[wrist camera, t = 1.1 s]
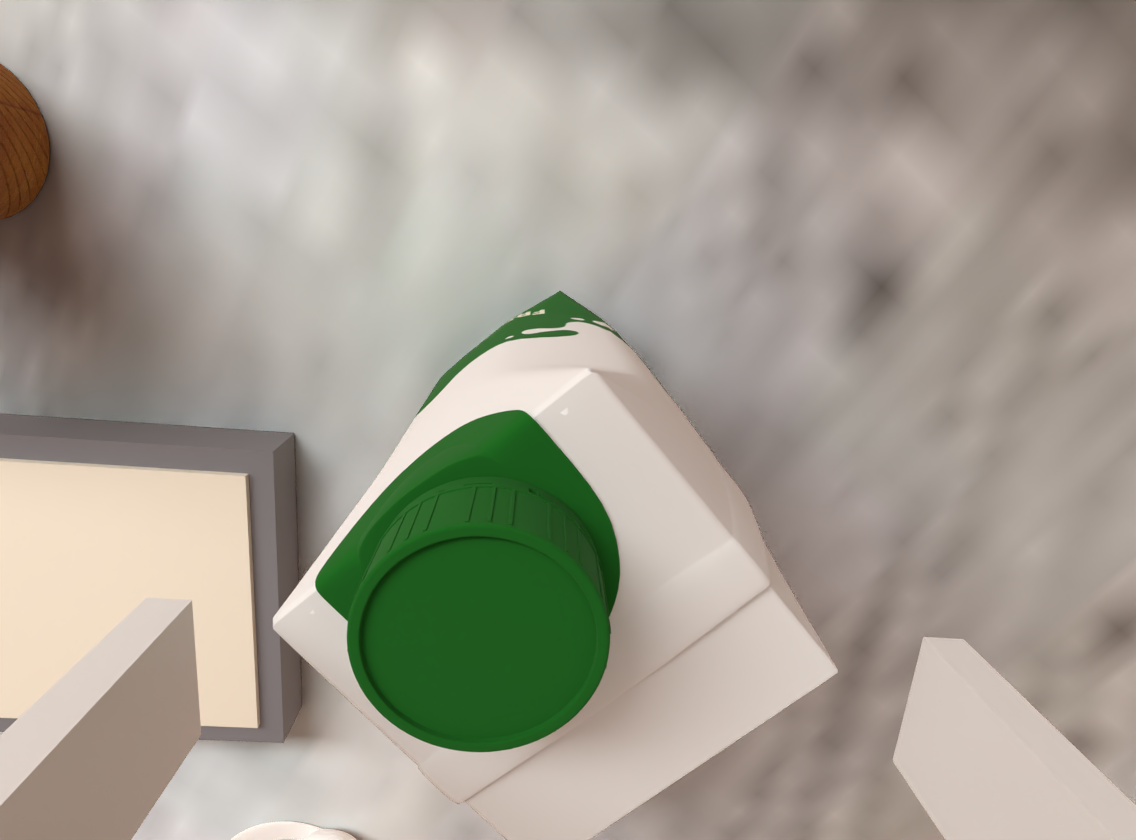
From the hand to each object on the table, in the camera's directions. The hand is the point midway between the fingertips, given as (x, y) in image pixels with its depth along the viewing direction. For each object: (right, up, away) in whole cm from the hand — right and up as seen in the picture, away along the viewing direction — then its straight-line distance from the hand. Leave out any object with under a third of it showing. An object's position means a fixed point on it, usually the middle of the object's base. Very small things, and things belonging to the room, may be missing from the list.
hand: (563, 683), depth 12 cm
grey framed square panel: (-19, -2, +19) cm, 27 cm away
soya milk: (-1, +5, +18) cm, 19 cm away
